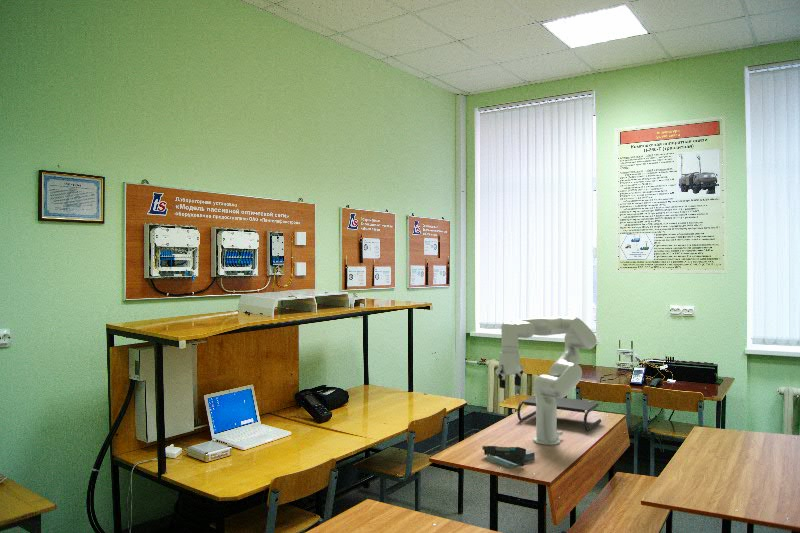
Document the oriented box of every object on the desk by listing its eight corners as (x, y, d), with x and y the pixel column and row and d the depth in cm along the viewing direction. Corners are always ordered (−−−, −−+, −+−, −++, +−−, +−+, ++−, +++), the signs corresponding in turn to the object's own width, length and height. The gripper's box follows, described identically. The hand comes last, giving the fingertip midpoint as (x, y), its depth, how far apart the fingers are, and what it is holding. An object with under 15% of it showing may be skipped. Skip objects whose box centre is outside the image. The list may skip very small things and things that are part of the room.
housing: (517, 454, 254) (517, 446, 254) (534, 460, 245) (534, 452, 246) (508, 456, 251) (508, 448, 251) (525, 462, 242) (525, 454, 242)
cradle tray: (499, 456, 251) (499, 452, 251) (520, 464, 240) (520, 460, 240) (486, 459, 247) (486, 455, 247) (508, 468, 236) (508, 463, 236)
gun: (521, 465, 234) (519, 440, 238) (482, 469, 246) (481, 445, 251) (527, 466, 236) (525, 441, 241) (489, 470, 249) (487, 447, 253)
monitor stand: (601, 421, 310) (601, 401, 310) (586, 433, 287) (586, 412, 287) (535, 412, 331) (535, 393, 331) (516, 423, 308) (516, 403, 308)
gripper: (517, 347, 271) (517, 383, 271) (490, 350, 261) (490, 387, 261) (529, 348, 265) (529, 385, 264) (501, 351, 255) (502, 390, 255)
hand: (510, 386), depth 263 cm, fingers open, 9 cm apart
